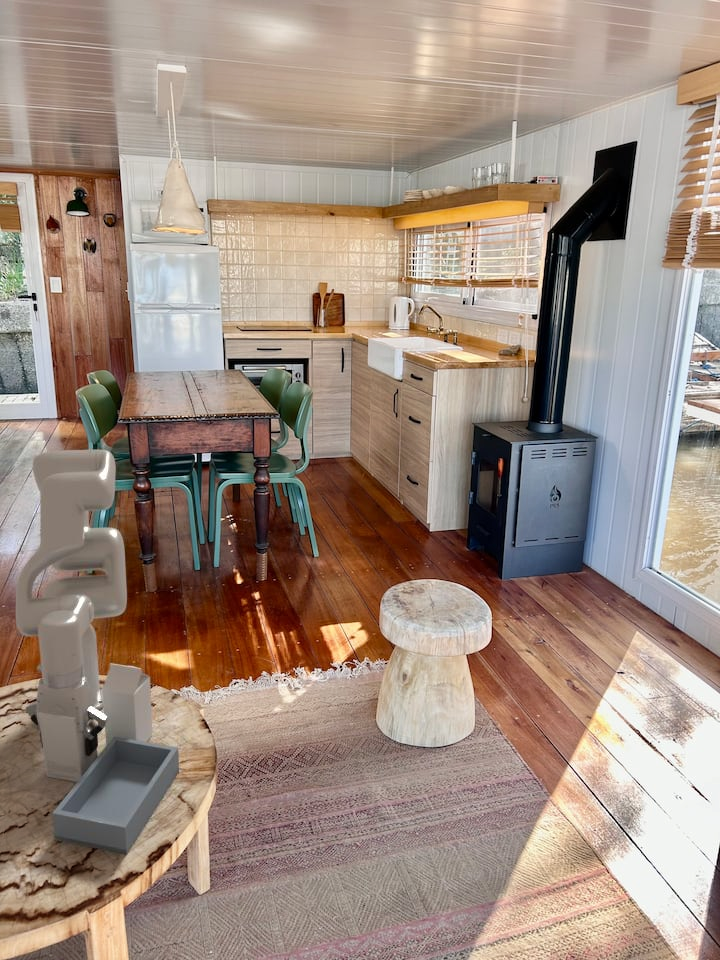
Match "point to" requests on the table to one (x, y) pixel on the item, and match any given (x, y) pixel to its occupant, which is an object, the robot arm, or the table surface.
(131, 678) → the milk carton
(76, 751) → the skincare box
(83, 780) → the tote
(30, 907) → the table surface
